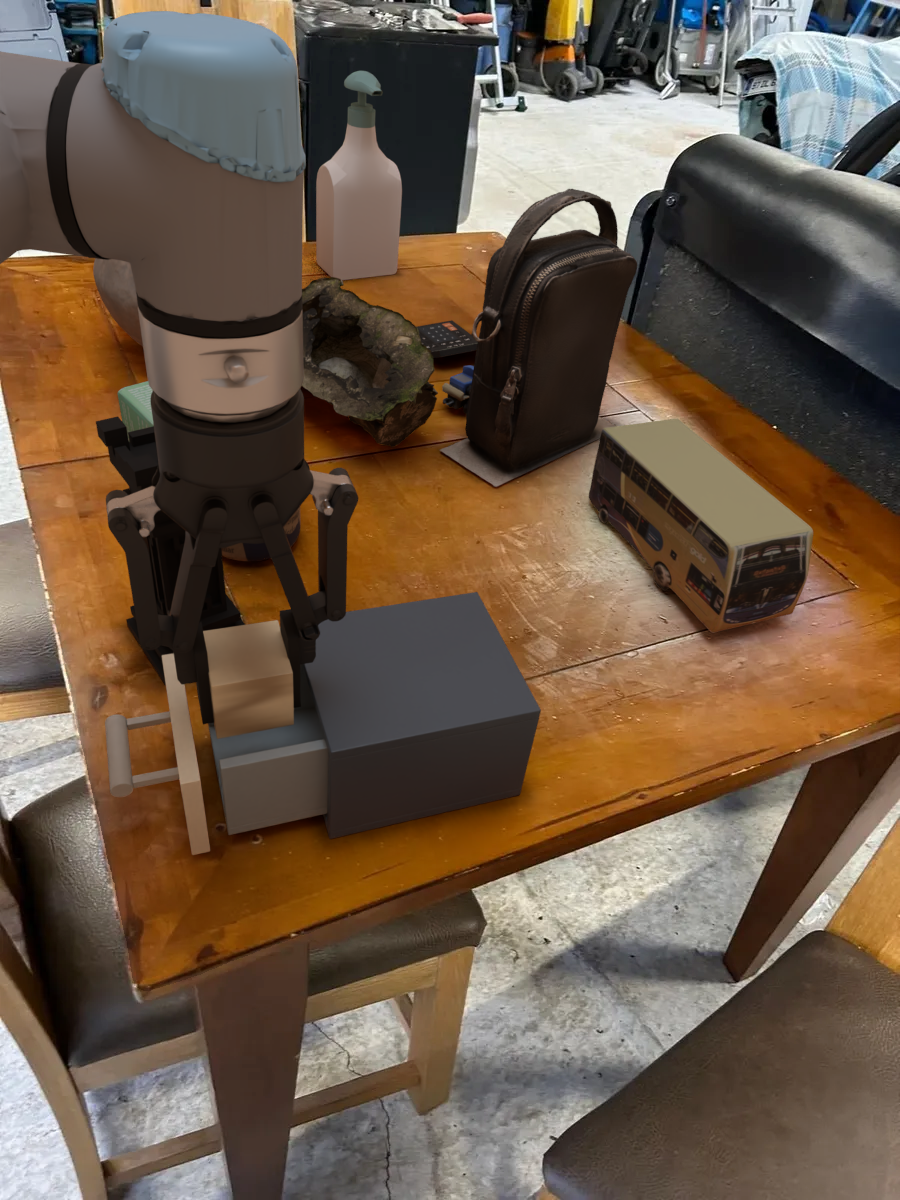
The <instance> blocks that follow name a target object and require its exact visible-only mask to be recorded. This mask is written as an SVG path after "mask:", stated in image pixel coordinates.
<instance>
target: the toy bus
mask: <svg viewBox="0 0 900 1200" xmlns="http://www.w3.org/2000/svg"><path fill="white" fill-rule="evenodd" d="M615 426H616V427H608V428H603V429H602V432H601V437H600V438H599V442H598V446H597V452H596V457H595V460H594V466H593V471H592V474H591V475H592V477H591V481H590V487H589V488H590V489H589V492H588V499H589V501H590V503H591V505H592V506H593V507H594V509H596V511H597V512H598V519H599V520H600V522H602V523H603V524H606V523H609V524H610V525H611V526H612V527H613V528H614V529H615V530H616V532H618V533H619V534H620V535H621V536H622V537H623V538H624V539H625V541H627V543H628V544H629V545H630V546H631V547H632V548H633V549H634V550H635V552H637V553H638V555H639V556H640V557H641V558H642V559H643V560H644V561H645V563H646V564H647V565H648V566H649V567H650V569H651V570H652V571H653V573H652V574H653V581H654V583H655V585H656V586H657V587H658V588H659V589H661V590H662V591H664V592H666V591H667V590H669V589H671V591H672V592H673V593H675V595H676V596H677V597H678V598H679V599H680V600H681V601H682V602H683V603H684V604H685V606H686V607H687V608H688V609H689V610H690V612H692V613H693V615H694V616H695V617H696V618H697V619H698V620H699V621H700V622H701V623H702V624H703V626H705V628H706V629H707V630H708V631H709V632H711V633H712V634H714V633H718V632H723V631H727V630H731V629H735V628H739V627H742V626H747V625H752V624H756V623H760V622H764V621H768V620H773V619H776V618H781V617H785V616H789V615H792V614H793V613H794V611H795V609H796V606H797V604H798V602H799V599H800V597H801V594H802V592H803V590H804V587H805V585H806V583H807V579H808V576H809V569H810V561H811V556H812V555H811V554H812V548H813V547H812V546H813V539H814V530H813V528H812V526H811V525H809V524H808V523H807V522H806V521H804V520H803V519H802V518H801V517H800V516H799V515H797V514H796V513H794V512H793V511H792V510H791V509H790V508H788V507H787V506H786V505H784V504H783V503H782V502H781V501H780V500H779V499H778V498H776V497H775V496H774V495H773V494H771V493H770V492H769V491H768V490H766V489H765V488H764V487H763V486H762V485H760V484H759V483H758V482H756V481H755V480H754V479H753V478H752V477H751V476H749V475H748V474H747V473H745V471H743V470H742V469H741V468H739V467H738V466H737V465H736V464H734V463H733V462H732V461H731V460H730V459H728V458H727V457H726V456H725V455H724V454H722V452H720V451H718V450H717V448H715V447H714V446H712V445H711V444H710V443H709V442H707V441H706V440H705V439H704V438H703V437H701V436H700V435H699V434H698V433H696V432H695V431H694V430H693V429H691V428H690V427H689V426H688V425H687V424H686V423H684V422H683V421H682V420H681V419H679V418H670V419H661V420H654V421H653V420H652V421H647V422H646V421H645V422H639V423H632V424H624V425H615Z"/></svg>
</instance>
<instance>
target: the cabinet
mask: <svg viewBox="0 0 900 1200" xmlns="http://www.w3.org/2000/svg"><path fill="white" fill-rule="evenodd" d="M318 627H319V630H320V636H319V637H318V638H317V639H316V657H315V659H314V661H313V662H312V663H306V664H302V665H303V669H304V672H305V675H306V679H307V682H308V685H309V689H310V692H311V695H312V699H313V702H314V705H315V709H316V712H317V715H318V719H319V722H320V725H321V729H322V732H323V735H324V739H325V742H326V745H327V749H328V803H327V813H326V814H322V817H323V821H324V824H325V828H326V831H327V835H328V838H329V840H332V839H336V838H340V837H345V836H349V835H353V834H357V833H363V832H366V831H370V830H375V829H379V828H383V827H387V826H391V825H396V824H401V823H405V822H409V821H414V820H417V819H422V818H426V817H427V818H428V817H430V816H435V815H439V814H443V813H448V812H452V811H456V810H461V809H465V808H469V807H473V806H478V805H483V804H487V803H490V802H496V801H499V800H504V799H509V798H512V797H516V796H517V797H518V796H520V795H521V793H522V788H523V784H524V780H525V777H526V772H527V768H528V765H529V760H530V756H531V753H532V748H533V744H534V740H535V737H536V732H537V729H538V724H539V720H540V716H541V712H542V710H541V707H540V706H539V704H538V702H537V700H536V698H535V696H534V695H533V692H532V690H531V688H530V687H529V685H528V683H527V681H526V680H525V678H524V676H523V674H522V671H521V670H520V668H519V667H518V665H517V663H516V661H515V660H514V659H515V658H514V657H513V656H512V654H511V652H510V650H509V648H508V646H507V644H506V643H505V641H504V638H503V637H502V635H501V633H500V631H499V629H498V628H497V626H496V624H495V622H494V620H493V619H492V616H491V615H490V613H489V611H488V609H487V608H486V605H485V603H484V601H483V600H482V598H481V596H480V594H479V592H477V591H474V592H468V593H467V592H466V593H461V594H454V595H448V596H440V597H435V598H428V599H421V600H416V601H408V602H402V603H396V604H395V603H394V604H389V605H381V606H375V607H370V608H368V607H367V608H363V609H357V610H350V611H349V610H348V611H346V614H345V616H344V618H343V619H341V620H339V621H330V620H329V619H328V620H325V621H323V622H321V623H320V624H319V625H318Z"/></svg>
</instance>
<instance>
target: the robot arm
mask: <svg viewBox="0 0 900 1200" xmlns="http://www.w3.org/2000/svg"><path fill="white" fill-rule="evenodd" d="M102 46H103V47H102V51H103V58H102V60H101V62H98V63H96V64H91V63H90V64H88V63H79V62H73V61H65V60H59V59H54V58H53V59H52V58H46V57H40V56H33V55H26V54H19V53H13V52H6V51H2V50H1V51H0V265H1V264H3V263H5V261H7V260H8V259H9V258H10V257H12V256H13V255H14V254H15V253H17V252H19V251H20V252H21V251H29V250H30V251H38V252H48V253H54V254H60V255H61V254H62V255H69V256H76V257H84V258H88V259H95V258H97V259H105V260H109V259H116V260H122V261H126V262H129V263H130V264H131V269H132V274H133V278H134V283H135V288H136V295H137V304H138V313H139V320H140V327H141V335H142V342H143V346H142V348H143V356H144V362H145V369H146V377H147V381H148V382H149V386H150V387H151V388H152V390H153V391H152V394H151V398H150V400H151V410H152V417H153V425H154V432H155V440H156V447H157V455H158V468H157V471H156V473H155V474H154V476H153V479H152V486H151V487H148V488H146V489H143V490H141V491H138V492H136V493H133V494H130V495H128V494H127V493H126V492H124V491H123V489H113V490H111V491H109V492H108V493H107V494H106V495H105V507H106V515H107V526H108V529H109V531H110V533H111V534H112V535H113V537H114V539H116V541H117V542H118V544H119V546H120V547H121V548H122V550H123V552H124V554H125V559H126V567H127V573H128V579H129V584H130V585H129V586H130V590H131V591H130V592H131V597H132V603H133V604H132V605H134V610H135V616H136V622H137V628H138V635H139V641H140V645H141V647H142V648H143V649H146V650H154V649H157V648H158V647H159V646H167V647H169V648H171V649H172V650H173V653H174V660H175V666H176V673H177V679H178V681H179V682H180V683H181V684H185V685H187V684H196V691H197V692H196V693H197V699H198V704H199V710H200V715H201V716H200V717H201V721H202V725H208V724H209V723H214V717H213V708H212V699H211V690H210V682H209V664H208V655H207V649H206V643H205V638H204V633H203V628H202V623H201V622H199V621H200V617H201V613H202V609H203V604H204V600H205V596H206V592H207V587H208V583H209V579H210V575H211V570H212V567H214V566H215V564H216V560H217V556H218V552H219V548H226V547H229V546H232V545H235V544H238V543H249V544H259V543H265V544H266V547H267V550H268V552H269V555H270V557H271V558H270V559H271V561H272V564H273V566H274V569H275V572H276V574H277V577H278V579H279V583H280V585H281V588H282V590H283V593H284V595H285V598H286V600H287V603H288V606H289V609H288V608H287V609H282V610H279V626H280V631H281V635H282V638H283V642H284V645H285V649H286V652H287V656H288V659H289V661H290V664H291V668H292V671H293V702H294V708H297V707H301V679H300V664H306V663H312V662H313V661H314V659H315V657H316V639H317V638H318V637H319V636H320V630H319V627H318V625H319V624H320V623H321V622H323V621H325V620H328V619H329V620H330V621H339V620H341V619H343V618H344V616H345V614H346V612H347V580H348V579H347V577H348V576H347V574H348V530H349V529H348V525H349V523H350V520H351V518H352V517H353V514H354V512H355V510H356V507H357V505H358V503H359V499H360V498H359V494H358V492H357V490H356V488H355V486H354V483H353V481H352V479H351V477H350V474H349V472H348V471H347V469H345V468H344V467H334V468H333V469H332V470H330V471H329V473H327V472H321V471H316V470H311V469H310V465H309V463H308V461H307V460H306V458H305V397H304V394H303V391H302V390H301V388H302V387H303V386H302V383H303V379H304V367H303V317H302V309H303V307H302V289H303V219H304V218H303V217H304V215H303V214H304V212H303V211H304V180H305V179H304V177H305V176H304V172H305V169H306V167H307V163H306V162H307V160H306V159H307V158H306V153H305V149H304V147H303V141H302V127H301V110H300V109H301V108H300V91H299V72H298V66H297V61H296V58H295V56H294V53H293V51H292V49H291V48H290V47H289V45H288V43H287V42H286V40H284V39H283V38H282V37H281V36H280V35H279V34H277V33H276V32H274V31H273V30H271V29H270V28H268V27H265V26H263V25H262V24H261V25H260V24H258V23H255V22H252V21H249V20H244V19H241V18H235V17H231V16H226V15H219V14H214V13H213V14H211V13H205V12H204V13H203V12H201V13H200V12H197V13H188V12H187V13H186V12H185V13H184V12H178V11H171V10H151V11H139V12H131V13H128V14H124V15H121V16H117V17H116V18H114V19H112V21H110V23H109V24H107V26H106V28H105V30H104V32H103V37H102ZM310 495H311V498H312V500H313V504H314V506H315V509H316V510H317V556H318V557H317V565H318V566H317V571H318V572H317V573H318V575H317V576H318V577H317V578H318V579H317V580H318V581H317V582H318V583H317V584H318V585H317V586H318V587H317V588H318V589H317V590H318V591H317V592H314V593H312V594H310V595H308V592H307V589H306V586H305V584H304V580H303V578H302V575H301V572H300V570H299V567H298V564H297V561H296V558H295V555H294V553H293V549H292V546H291V547H290V544H289V541H288V538H287V536H286V533H285V530H284V526H285V525H286V523H287V522H288V521H289V520H290V518H291V517H292V516H293V515H294V513H295V512H296V511H297V510H298V508H299V507H300V508H301V506H302V505H303V504H304V502H305V501H306V500H307V499H308V497H309V496H310ZM159 510H162V511H163V512H164V513H165V514H166V515H168V516H169V517H170V518H171V519H172V520H173V521H175V522H176V523H177V524H178V525H179V526H181V527H182V528H183V529H184V530H185V543H184V548H183V553H182V558H181V563H180V567H179V572H178V577H177V582H176V587H175V591H174V596H173V601H172V606H171V611H168V616H166V615H158V612H157V605H156V598H155V591H154V584H153V576H152V569H151V562H150V555H149V548H148V541H147V536H149V534H150V532H151V531H152V530H153V529H154V527H155V522H154V515H155V514H156V513H157V512H158V511H159ZM140 645H139V646H140ZM141 647H140V648H141ZM142 648H141V649H142Z"/></svg>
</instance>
